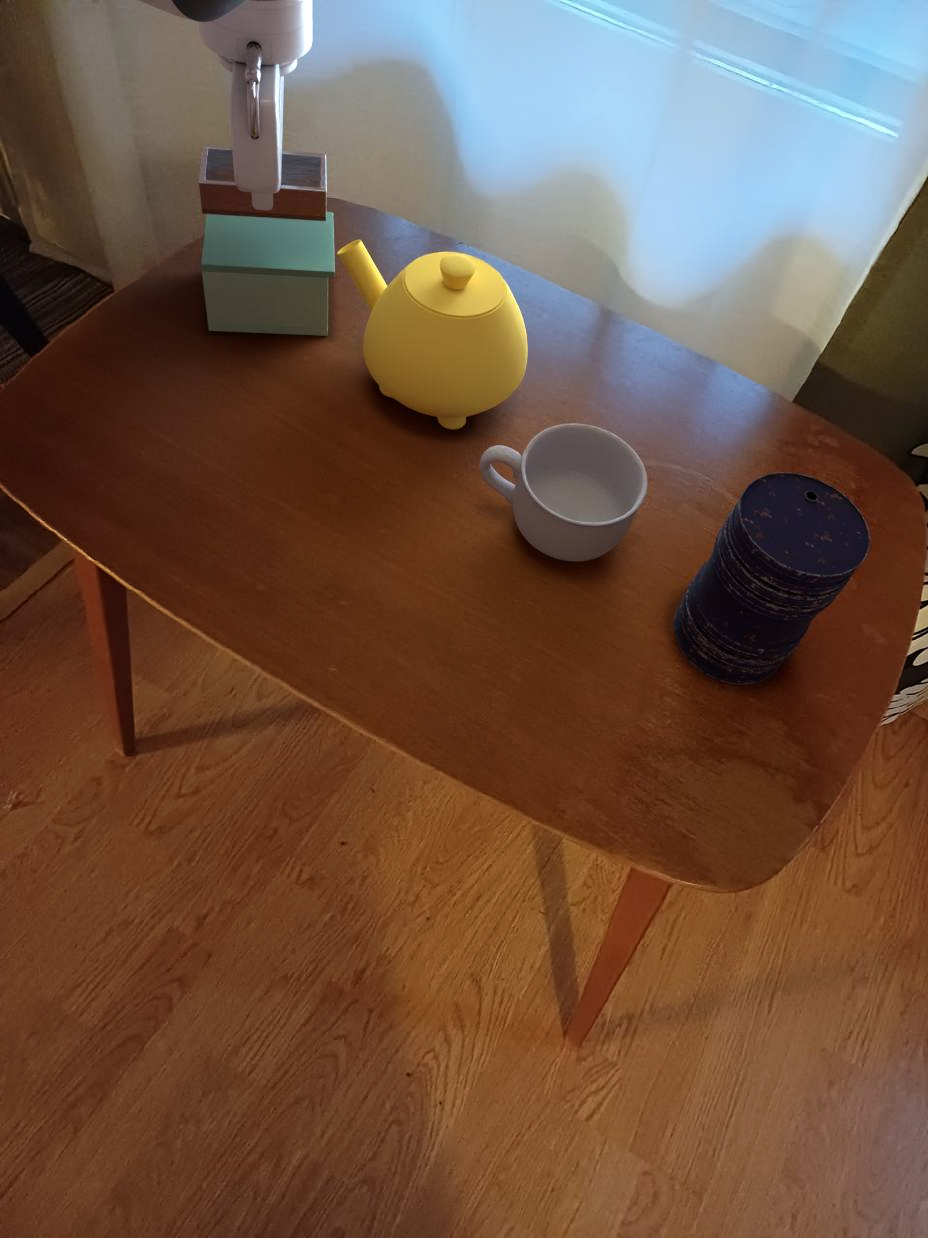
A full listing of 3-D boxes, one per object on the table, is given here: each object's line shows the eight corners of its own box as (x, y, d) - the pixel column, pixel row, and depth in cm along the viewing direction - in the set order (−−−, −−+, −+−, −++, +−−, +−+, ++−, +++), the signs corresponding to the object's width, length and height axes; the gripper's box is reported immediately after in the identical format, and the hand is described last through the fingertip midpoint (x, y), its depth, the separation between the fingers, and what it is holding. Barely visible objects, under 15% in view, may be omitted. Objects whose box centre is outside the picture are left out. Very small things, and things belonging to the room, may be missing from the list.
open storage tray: (202, 213, 83) (198, 182, 80) (206, 175, 86) (202, 144, 84) (326, 221, 85) (326, 190, 82) (325, 184, 88) (325, 153, 85)
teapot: (292, 371, 90) (288, 245, 78) (383, 294, 98) (391, 170, 87) (466, 466, 86) (489, 348, 74) (546, 377, 94) (577, 258, 83)
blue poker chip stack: (772, 704, 75) (861, 598, 63) (658, 657, 76) (723, 543, 64) (794, 615, 81) (880, 501, 68) (688, 572, 82) (753, 452, 70)
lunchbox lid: (333, 218, 93) (333, 211, 92) (334, 278, 88) (334, 271, 87) (207, 209, 91) (206, 203, 90) (201, 270, 86) (200, 264, 85)
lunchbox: (326, 276, 98) (326, 217, 93) (327, 336, 93) (328, 277, 88) (214, 270, 97) (207, 210, 91) (208, 331, 91) (201, 271, 86)
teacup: (638, 515, 85) (665, 453, 78) (599, 599, 79) (624, 540, 72) (501, 456, 87) (516, 391, 80) (452, 533, 81) (464, 470, 74)
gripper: (295, 86, 67) (298, 253, 79) (297, -38, 79) (299, 124, 90) (206, 79, 66) (222, 249, 78) (220, -46, 78) (233, 119, 89)
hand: (264, 181), depth 84 cm, fingers closed on open storage tray, 6 cm apart
